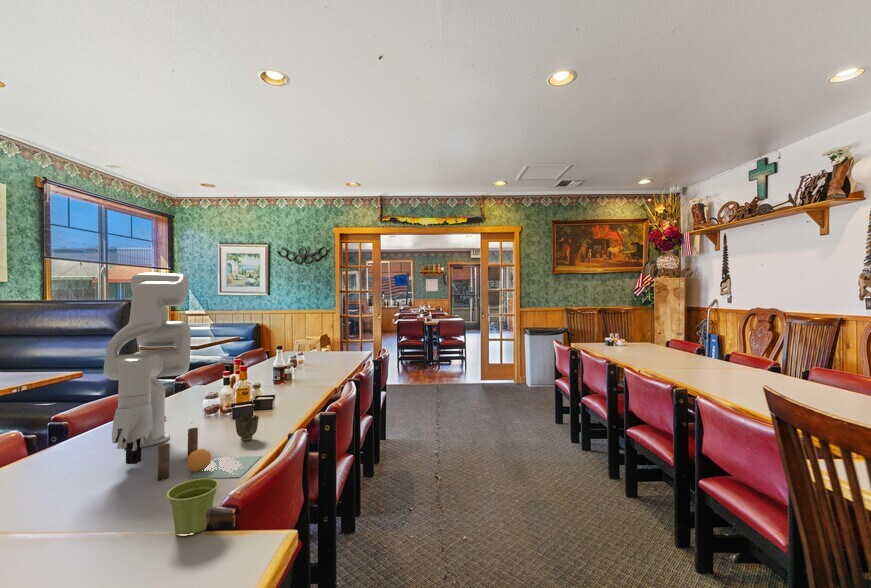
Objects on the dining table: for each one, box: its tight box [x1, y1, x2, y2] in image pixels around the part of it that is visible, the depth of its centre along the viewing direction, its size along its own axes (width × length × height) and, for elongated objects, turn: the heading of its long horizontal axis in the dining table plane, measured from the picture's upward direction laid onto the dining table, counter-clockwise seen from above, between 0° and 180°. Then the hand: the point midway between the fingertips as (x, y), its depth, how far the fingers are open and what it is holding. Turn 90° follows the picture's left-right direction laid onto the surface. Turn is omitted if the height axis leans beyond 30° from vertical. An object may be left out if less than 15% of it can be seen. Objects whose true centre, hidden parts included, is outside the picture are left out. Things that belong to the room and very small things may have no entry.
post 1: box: [157, 443, 171, 481], centre depth 103 cm, size 3×3×9 cm
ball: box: [186, 448, 212, 473], centre depth 108 cm, size 6×6×6 cm
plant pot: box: [166, 478, 220, 535], centre depth 80 cm, size 9×9×9 cm
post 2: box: [187, 427, 199, 457], centre depth 116 cm, size 3×3×9 cm
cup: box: [234, 414, 260, 443], centre depth 131 cm, size 8×7×8 cm
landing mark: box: [188, 455, 263, 480], centre depth 110 cm, size 14×14×1 cm
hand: (133, 462), depth 109 cm, fingers closed
